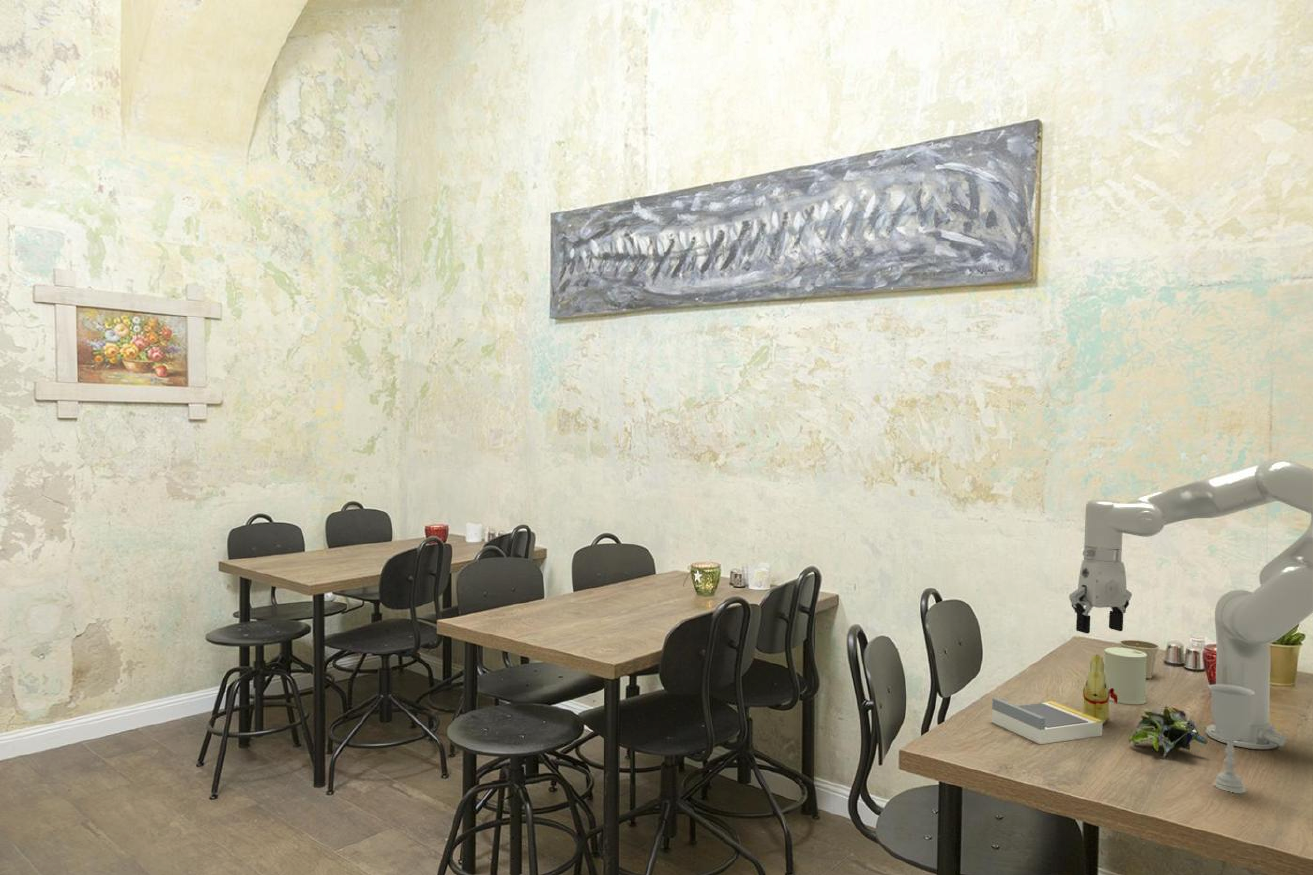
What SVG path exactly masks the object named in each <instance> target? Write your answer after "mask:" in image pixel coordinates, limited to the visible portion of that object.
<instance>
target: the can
mask: <svg viewBox="0 0 1313 875" xmlns="http://www.w3.org/2000/svg"><path fill="white" fill-rule="evenodd" d="M1146 659H1147V654H1146V653H1144V652H1142V651H1138V650H1134V649H1128V648H1121V647H1115V646H1114V647H1107V648H1105V649H1104V674H1105V679H1106V683H1107V687H1108V691H1109V690H1110V689H1111V688H1113V689H1114V693H1115V694H1116V695H1117V698H1118V700H1117V703H1118V704H1124V705H1132V706H1133V705H1134V706H1138V705H1144V704H1146V703H1147V696H1146V694H1147V693H1146V692H1147V690H1146V689H1147V688H1146V685H1147V678H1146ZM1109 694H1110V693H1109ZM1109 701H1111V702H1113V703H1115V701H1114V699H1113V698H1111V696H1110V695H1109ZM1117 703H1116V704H1117Z"/></svg>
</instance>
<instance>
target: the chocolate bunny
mask: <svg viewBox="0 0 1313 875" xmlns="http://www.w3.org/2000/svg"><path fill="white" fill-rule="evenodd" d="M1088 672H1089V673H1088V675H1087V679H1086V681H1085V684H1084V688H1083V690H1082V696H1083V706H1084V707H1083V713H1084V714H1087V715H1089V716H1092V717H1094V718H1097V719H1099V720H1102V721H1103V722H1102V726H1103V725H1104V724H1105V723H1106V722H1107V720H1108V717H1109V716H1110V709H1109V706H1110V705H1109V703H1110V700H1109V695H1110V696H1111V698H1113V699H1114V701H1115V702H1114V701H1113V702H1114V703H1115V704H1117V700H1118V698H1117V695H1116V694H1115V693H1114V689H1113V688H1111V689H1110V690H1109V691H1108V687H1107V683H1106V679H1105V661H1104V660H1103V657H1102V656H1101V655H1100V654H1098V653H1097V654H1096V653H1094V655H1093V656H1092V657H1091V660H1090V662H1089V670H1088ZM1109 693H1110V694H1109Z"/></svg>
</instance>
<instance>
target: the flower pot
mask: <svg viewBox="0 0 1313 875" xmlns="http://www.w3.org/2000/svg"><path fill="white" fill-rule="evenodd" d="M1118 643H1119V645H1120V648H1128V649H1134V650H1138V651H1142V652H1144V653H1146V654H1147V659H1146V679H1147V680H1148V679H1152V678H1153V674H1154V666H1155V662H1156V655H1157V654H1158V650H1159V649H1160V645H1159V644H1157V643H1154V642H1150V641H1145V640H1144V641H1143V640H1139V639H1138V640H1137V639H1136V640H1135V639H1122V640H1120V641H1119V642H1118Z"/></svg>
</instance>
